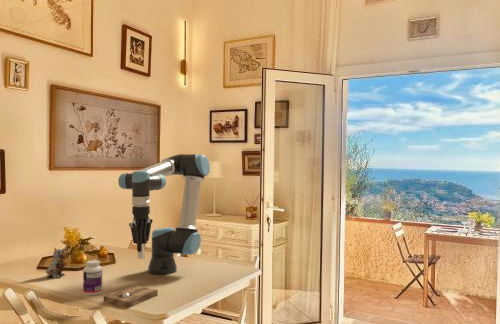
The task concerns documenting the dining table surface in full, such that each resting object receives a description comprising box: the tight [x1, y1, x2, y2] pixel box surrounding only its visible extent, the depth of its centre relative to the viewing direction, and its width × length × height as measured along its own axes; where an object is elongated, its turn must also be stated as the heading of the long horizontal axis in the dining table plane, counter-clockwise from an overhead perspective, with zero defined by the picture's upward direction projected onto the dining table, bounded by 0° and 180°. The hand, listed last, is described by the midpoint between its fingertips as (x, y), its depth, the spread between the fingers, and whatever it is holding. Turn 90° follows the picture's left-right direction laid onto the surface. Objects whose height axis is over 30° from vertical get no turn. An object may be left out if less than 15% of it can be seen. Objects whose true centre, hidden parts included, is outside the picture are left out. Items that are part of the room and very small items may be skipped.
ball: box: [122, 293, 130, 298], centre depth 177 cm, size 4×4×4 cm
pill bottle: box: [82, 259, 103, 296], centre depth 186 cm, size 8×8×14 cm
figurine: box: [45, 247, 67, 280], centre depth 212 cm, size 9×9×15 cm
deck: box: [103, 284, 159, 309], centre depth 180 cm, size 14×18×2 cm
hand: (141, 258), depth 185 cm, fingers closed
